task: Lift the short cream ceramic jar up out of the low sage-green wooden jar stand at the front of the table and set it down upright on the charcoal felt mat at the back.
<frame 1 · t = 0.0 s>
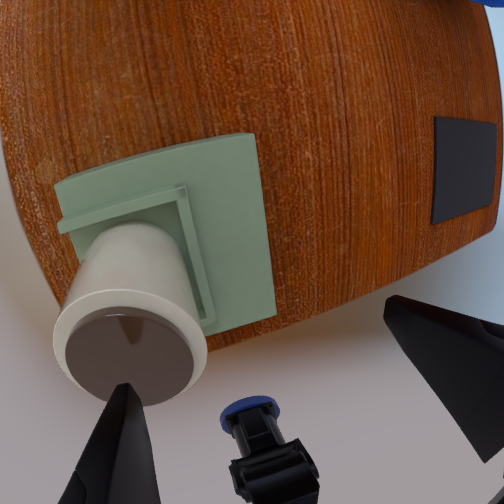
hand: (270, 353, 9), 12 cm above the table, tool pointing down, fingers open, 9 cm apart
stand: (172, 240, 19), on the table
jar: (134, 271, 15), point 3 cm above the table, touching stand
mat: (469, 167, 25), on the table
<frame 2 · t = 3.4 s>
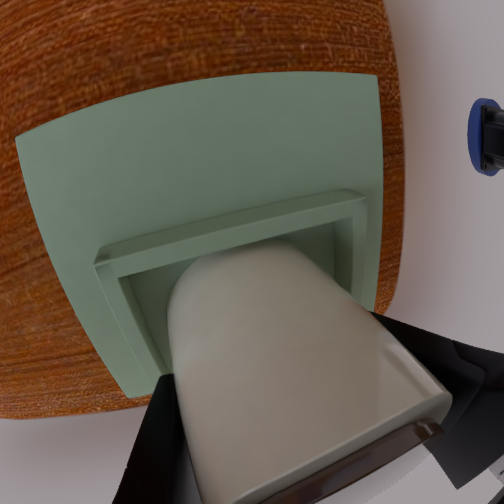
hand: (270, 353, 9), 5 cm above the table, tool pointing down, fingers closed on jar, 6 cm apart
stand: (218, 223, 12), on the table
jar: (248, 313, 11), point 3 cm above the table, touching gripper, stand
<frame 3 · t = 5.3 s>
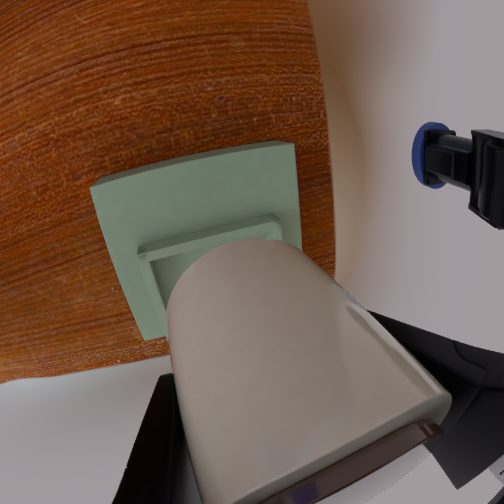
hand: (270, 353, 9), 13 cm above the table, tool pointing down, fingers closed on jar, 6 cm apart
stand: (203, 233, 20), on the table
jar: (248, 313, 11), point 11 cm above the table, touching gripper
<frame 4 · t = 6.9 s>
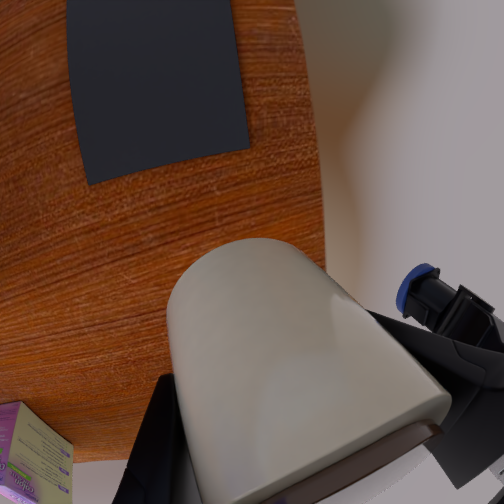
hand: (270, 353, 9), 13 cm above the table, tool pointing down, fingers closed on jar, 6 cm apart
box: (35, 425, 23), on the table
jar: (248, 314, 11), point 11 cm above the table, touching gripper
mat: (151, 55, 14), on the table
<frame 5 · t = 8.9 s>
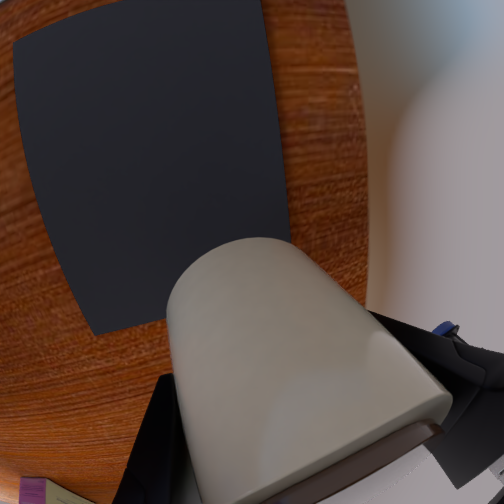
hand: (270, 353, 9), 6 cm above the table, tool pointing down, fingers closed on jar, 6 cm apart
box: (59, 491, 20), on the table
jar: (248, 313, 11), point 4 cm above the table, touching gripper
mat: (153, 159, 11), on the table
when the fingers open (3 cm above the table, at t = 10.4 s): jar stays where it is, resting on mat.
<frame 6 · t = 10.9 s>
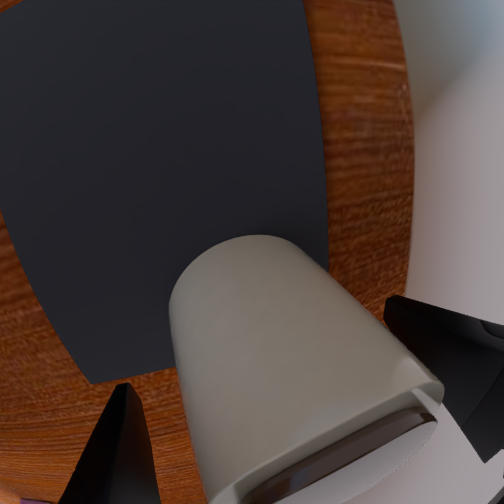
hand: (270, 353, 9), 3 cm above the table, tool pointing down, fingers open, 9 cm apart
jar: (248, 309, 11), resting on mat
mat: (155, 172, 8), on the table
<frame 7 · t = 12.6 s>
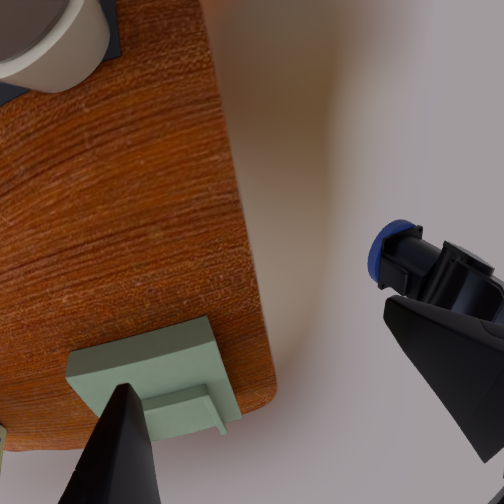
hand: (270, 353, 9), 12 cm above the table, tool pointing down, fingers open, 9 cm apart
stand: (157, 379, 23), on the table
jar: (62, 46, 11), resting on mat
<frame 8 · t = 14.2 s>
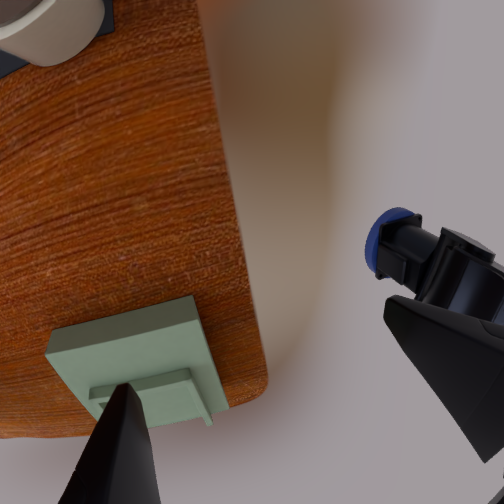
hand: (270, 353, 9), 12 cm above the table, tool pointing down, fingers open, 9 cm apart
stand: (142, 364, 22), on the table
jar: (59, 23, 10), resting on mat
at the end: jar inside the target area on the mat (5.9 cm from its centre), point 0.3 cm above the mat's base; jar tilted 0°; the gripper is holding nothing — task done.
